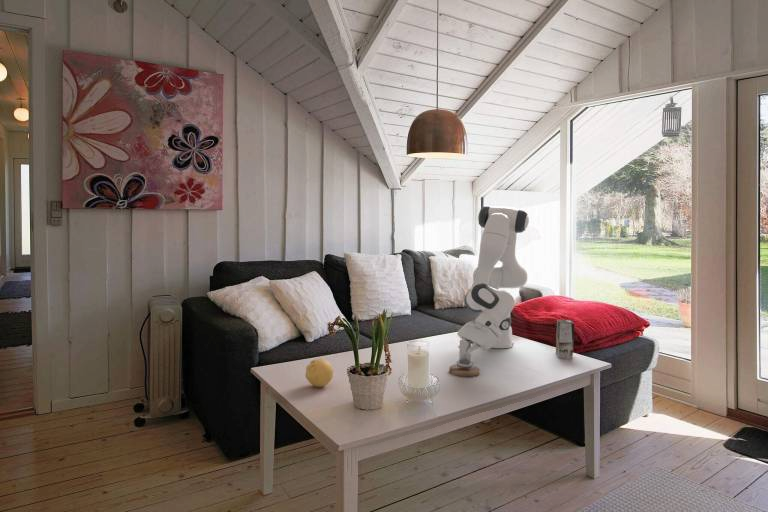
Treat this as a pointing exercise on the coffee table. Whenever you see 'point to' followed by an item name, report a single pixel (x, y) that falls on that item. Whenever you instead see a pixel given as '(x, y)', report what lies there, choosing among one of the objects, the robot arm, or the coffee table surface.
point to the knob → (464, 355)
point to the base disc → (464, 371)
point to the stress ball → (319, 372)
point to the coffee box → (565, 338)
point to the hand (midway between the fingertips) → (463, 350)
